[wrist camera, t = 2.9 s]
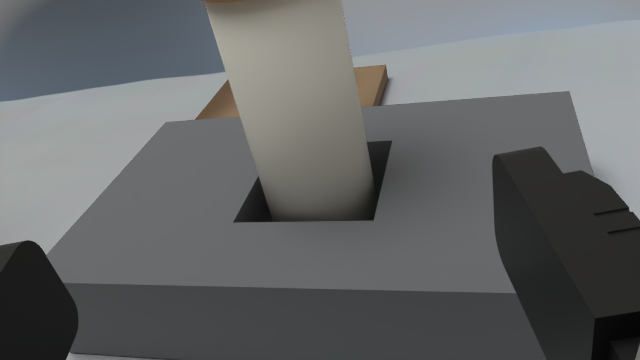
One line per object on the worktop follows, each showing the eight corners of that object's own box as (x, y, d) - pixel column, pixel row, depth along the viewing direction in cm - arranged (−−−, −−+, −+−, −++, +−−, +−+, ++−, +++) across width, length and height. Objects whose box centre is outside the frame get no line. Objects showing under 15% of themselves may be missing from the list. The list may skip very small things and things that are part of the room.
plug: (268, 292, 23) (146, -59, 16) (298, 220, 27) (210, -91, 19) (382, 295, 22) (307, -89, 14) (396, 218, 26) (342, -118, 18)
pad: (174, 165, 34) (168, 151, 34) (231, 92, 42) (227, 80, 42) (364, 155, 31) (361, 140, 30) (387, 78, 39) (385, 64, 38)
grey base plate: (70, 352, 23) (22, 281, 21) (189, 182, 32) (165, 122, 30) (615, 389, 17) (628, 295, 15) (565, 168, 26) (569, 91, 24)
